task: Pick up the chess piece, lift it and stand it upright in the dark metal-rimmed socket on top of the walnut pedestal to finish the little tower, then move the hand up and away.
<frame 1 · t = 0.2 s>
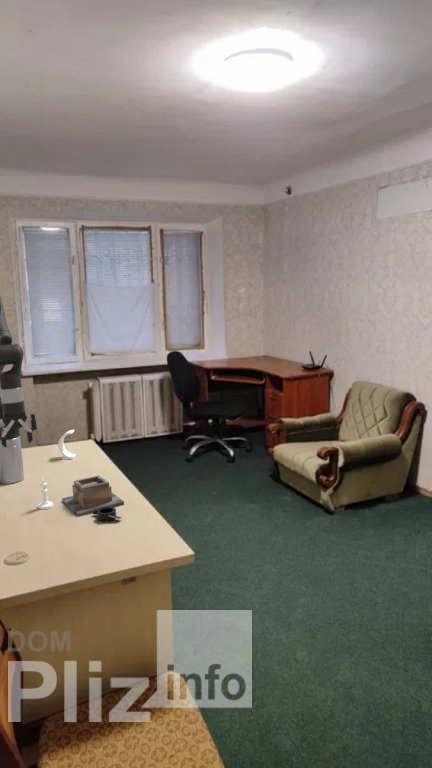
hand: (17, 444, 194), 18 cm above the table, tool pointing down, fingers open, 8 cm apart
chess piece: (45, 506, 182), on the table
pedestal: (92, 502, 184), on the table
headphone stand: (67, 458, 235), on the table
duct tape: (107, 519, 171), on the table
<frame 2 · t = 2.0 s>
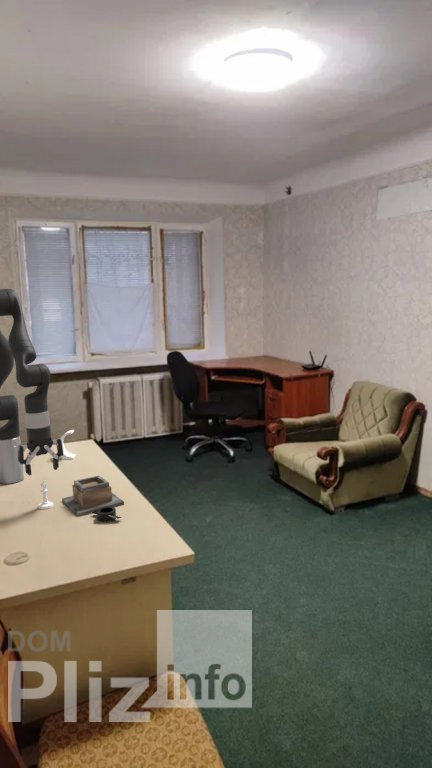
hand: (42, 472, 179), 12 cm above the table, tool pointing down, fingers open, 8 cm apart
nothing on the table moved.
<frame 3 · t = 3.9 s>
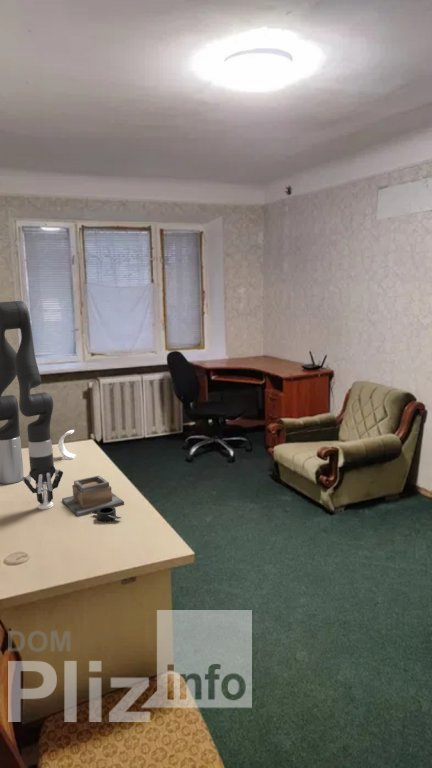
hand: (45, 501, 181), 2 cm above the table, tool pointing down, fingers closed on chess piece
chess piece: (45, 506, 182), on the table, touching gripper
everything else where it was.
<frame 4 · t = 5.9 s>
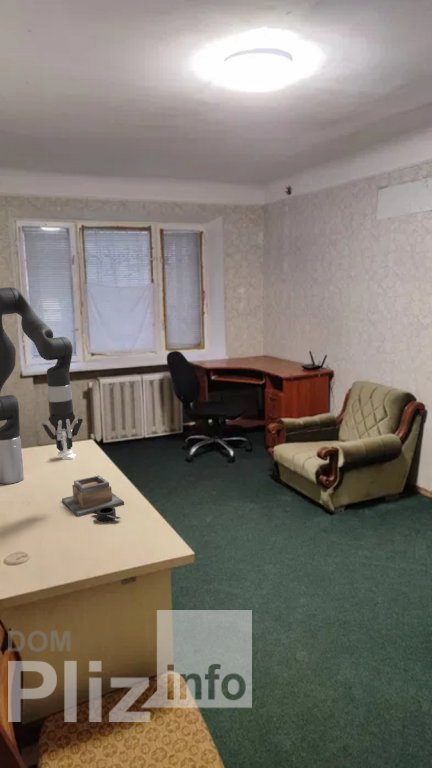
hand: (64, 449, 179), 20 cm above the table, tool pointing down, fingers closed on chess piece
chess piece: (65, 454, 179), point 18 cm above the table, touching gripper
everything else where it was.
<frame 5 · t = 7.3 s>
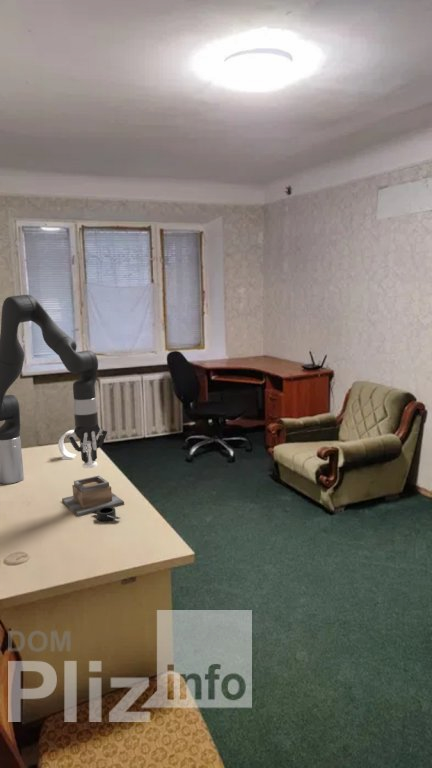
hand: (89, 461, 181), 15 cm above the table, tool pointing down, fingers closed on chess piece
chess piece: (90, 466, 181), point 13 cm above the table, touching gripper
everything else where it was.
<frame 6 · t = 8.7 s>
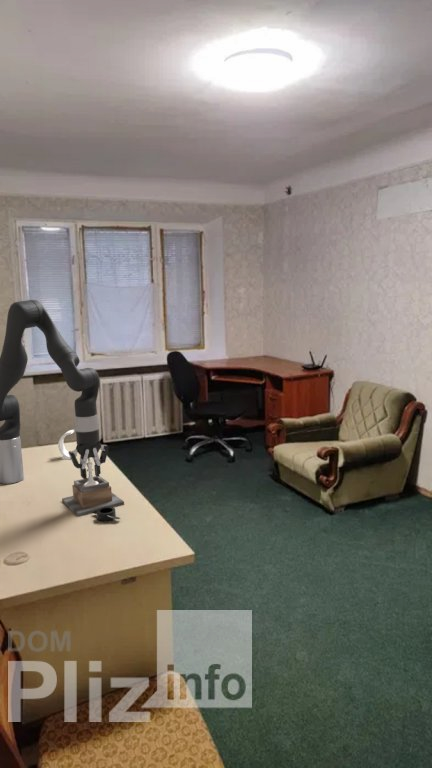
hand: (90, 477, 182), 9 cm above the table, tool pointing down, fingers open, 4 cm apart
chess piece: (91, 486, 183), point 6 cm above the table, touching pedestal
everything else where it was.
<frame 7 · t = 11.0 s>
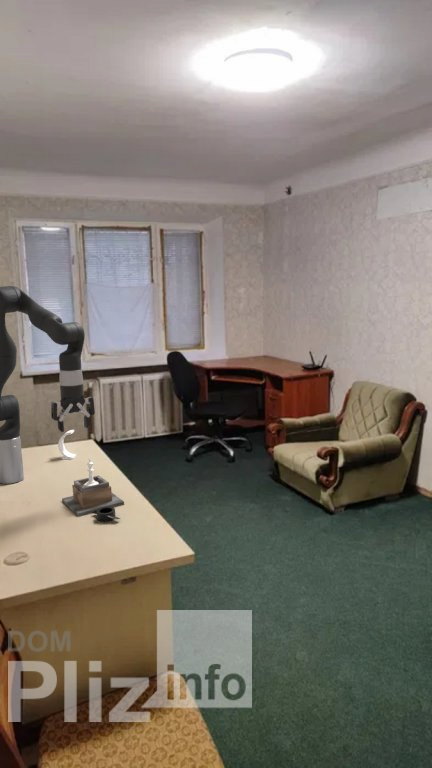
hand: (74, 429, 182), 25 cm above the table, tool pointing down, fingers open, 8 cm apart
nothing on the table moved.
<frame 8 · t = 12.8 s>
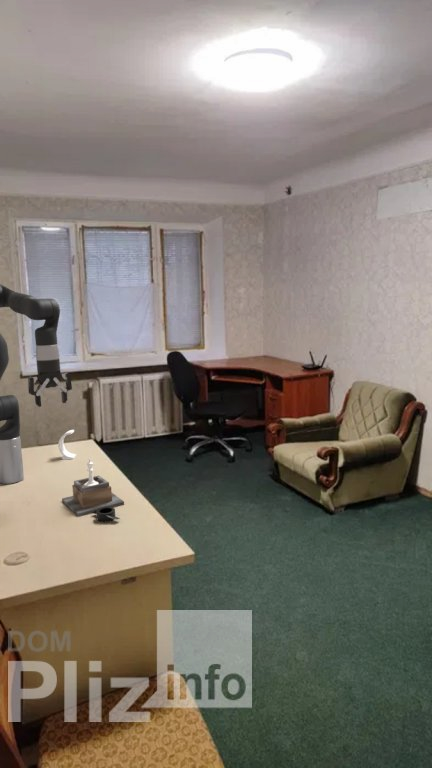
hand: (51, 404, 186), 33 cm above the table, tool pointing down, fingers open, 8 cm apart
nothing on the table moved.
at the end: chess piece 0.0 cm off-centre on the pedestal, point 5.8 cm above the pedestal's base; chess piece tilted 0°; the gripper is holding nothing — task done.
